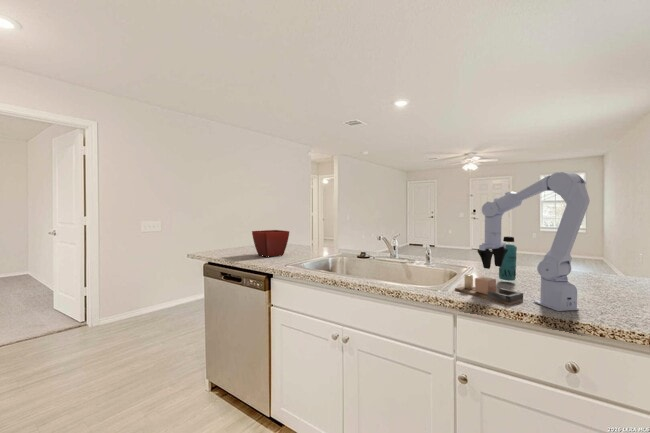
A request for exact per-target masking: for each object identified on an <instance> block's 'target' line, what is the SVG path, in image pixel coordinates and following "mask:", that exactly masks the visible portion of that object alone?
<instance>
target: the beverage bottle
mask: <svg viewBox="0 0 650 433" xmlns="http://www.w3.org/2000/svg"><path fill="white" fill-rule="evenodd" d="M502 239H503V243H506V242H507V243H506V248H505V249H508V251H507V253H506V254H505V256H504V259H503V262H502V266H501V267H498V278H499V280H502V281H511V282H513V281H515V280H516V279H517V271H516V270H517V249H518V248H517V246H516V245H515V244H509V243H515V237H513V236H503V238H502Z"/></svg>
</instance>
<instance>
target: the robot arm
mask: <svg viewBox="0 0 650 433" xmlns="http://www.w3.org/2000/svg"><path fill="white" fill-rule="evenodd" d="M586 184H587V182H586V181H585V180H584V178H583V177H582V176H580V175H579V174H578V173H574V172H564V171H557V172H554V173H552V174H551V175H546V176H545V177H542V178H541V179H540V180H538V181H535V182H534V183H532V184H531V185H529V186H527V187H525V188H523V189H521V190H520V191H518V192H515V191H506V192H505V193H504V195H503V196H500V197H499V198H494V199H493V200H492V201H486V202H485V203H483V205H482V206H481V213H482V215H483V216H484V242H482V243H481V244H479V246H478V249H477V253H478V255H479V257H480V260H481V262H482V266H483V268H484V269H487V270H490V269H491V266H492V265H491V264H492V259H493V260H494V266H495V267H498V268H499V267H501V266H502V262H503V259H504V256H505V254H506V253H507V251H508V249H505V248H506V244H507V243H506V242H502V219H503V218H502V217H503V215H504V214H505V213H506V212H509V211H510V210H513V209H515V208H517V207H519V206H521V205H522V202H523V201H525V200H527V199H530V198H533V197H534V196H536V195H538V194H542V193H543V192H549V191H550V192H554V193H555V194H557V195H559V197H561V199H562V200H563V202H565V203H566V205H565V208H564V211H563V213H562V217H561V219H560V221H559V224H558V228H557V231H556V232H555V236H554V238H553V241H552V244H551V247H550V249H549V250H548V252H546V253H545V255H544V257H543V259H542V261H540V262H539V263H538V265H537V267H536V268H537V272H538V275H540V297H539V299H540V300H533V303H535V304H538V305H540V306H543V307H545V308H549V309H550V310H553V311H554V310H555V311H557V312H564V311H565V312H566V311H579V310H580V308H579V307H578V289H577V286H575V285H574V284H573V283H570V282H569V278H568V275H569V274H570V273H571V272H572V265H571V262H572V256H571V252H572V250H573V246H574V245H575V243H576V242H575V241H576V239H577V236H578V234H579V231H580V229H581V225H582V223H583V221H584V217H585V216H586V213H587V210H588V207H589V205H590V197H589V194H588V190H587V187H586V186H587V185H586ZM492 257H493V258H492Z"/></svg>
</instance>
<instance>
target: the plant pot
mask: <svg viewBox="0 0 650 433" xmlns="http://www.w3.org/2000/svg"><path fill="white" fill-rule="evenodd" d="M251 233H252V239H253V244H254V248H255V251H256V254H257V256H259V255H263V256H267V257H266V258H269V257H268V256H275V257H280V256H279V255H283V256H284V254H285V251H286V248H287V245H288V241H289V236H290V231H289V230H282V229H281V230H280V229H269V230H252V231H251ZM263 256H262V257H263Z"/></svg>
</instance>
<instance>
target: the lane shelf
mask: <svg viewBox="0 0 650 433" xmlns="http://www.w3.org/2000/svg"><path fill="white" fill-rule="evenodd" d="M498 290H499V292H497V291H496V292H492V291H488V295H487V294H483V293H479V292H475V289H467V288H464V285H463V286H458V287H455V288H454V291H456V292H460V293H464V294H468V295H470V296H475V297H479V298H483V299H486V300H489V301H493V302H495V303H496V302H497V303H500V304H504V305H507V306H510V305H511V306H512V305H515V304H518V303H522V302H523V301H524V293H523V292H518V291H515V290H511V289H510V290H509V289H506V288H502V287H501V288H499V289H498Z"/></svg>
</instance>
